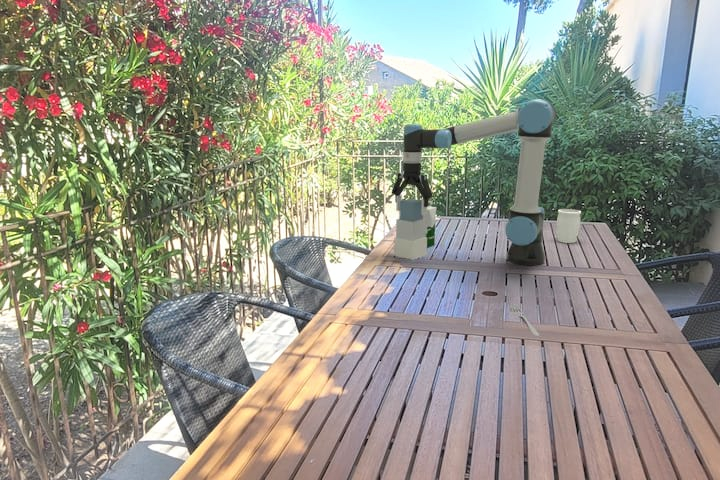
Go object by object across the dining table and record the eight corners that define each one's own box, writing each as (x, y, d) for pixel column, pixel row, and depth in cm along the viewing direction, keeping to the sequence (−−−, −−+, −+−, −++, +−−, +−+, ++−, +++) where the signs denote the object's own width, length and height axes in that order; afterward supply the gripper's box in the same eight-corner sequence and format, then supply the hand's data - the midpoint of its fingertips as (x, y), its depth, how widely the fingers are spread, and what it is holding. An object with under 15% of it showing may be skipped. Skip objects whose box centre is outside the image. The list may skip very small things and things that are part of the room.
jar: (581, 244, 240) (585, 212, 236) (559, 244, 240) (562, 212, 237) (573, 238, 250) (576, 208, 247) (551, 238, 251) (554, 208, 247)
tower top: (425, 237, 220) (426, 219, 218) (412, 241, 214) (413, 222, 212) (409, 234, 226) (409, 216, 224) (396, 237, 220) (396, 219, 218)
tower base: (426, 255, 222) (427, 237, 220) (412, 259, 215) (412, 241, 213) (408, 251, 229) (409, 233, 227) (394, 255, 222) (394, 237, 220)
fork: (535, 341, 139) (536, 335, 139) (508, 308, 163) (508, 303, 162) (547, 341, 139) (548, 335, 139) (518, 308, 163) (518, 303, 162)
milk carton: (420, 242, 245) (421, 200, 240) (437, 244, 240) (438, 202, 235) (411, 245, 238) (412, 203, 233) (428, 248, 233) (429, 205, 228)
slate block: (422, 219, 219) (423, 200, 217) (412, 221, 214) (413, 202, 212) (410, 217, 223) (410, 198, 221) (399, 219, 218) (400, 200, 216)
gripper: (383, 161, 218) (383, 210, 224) (431, 164, 202) (429, 217, 207) (395, 159, 224) (394, 207, 229) (442, 163, 207) (440, 215, 212)
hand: (411, 212), depth 218 cm, fingers open, 13 cm apart
